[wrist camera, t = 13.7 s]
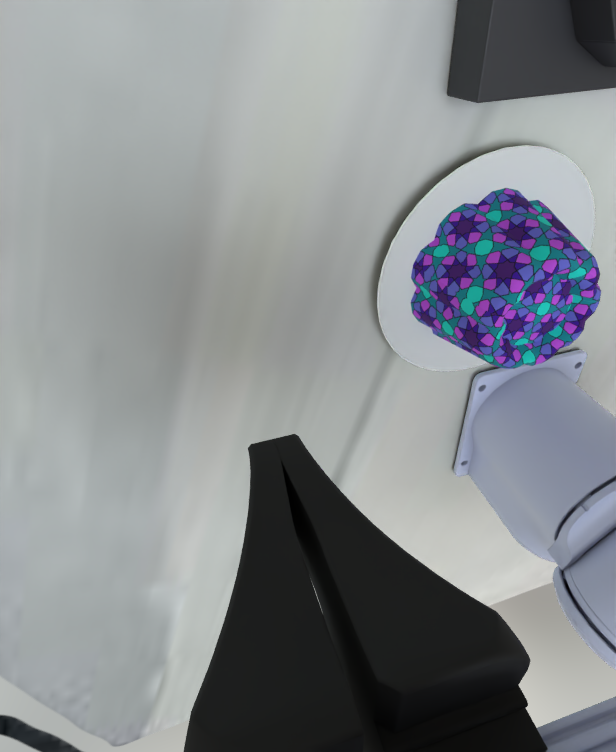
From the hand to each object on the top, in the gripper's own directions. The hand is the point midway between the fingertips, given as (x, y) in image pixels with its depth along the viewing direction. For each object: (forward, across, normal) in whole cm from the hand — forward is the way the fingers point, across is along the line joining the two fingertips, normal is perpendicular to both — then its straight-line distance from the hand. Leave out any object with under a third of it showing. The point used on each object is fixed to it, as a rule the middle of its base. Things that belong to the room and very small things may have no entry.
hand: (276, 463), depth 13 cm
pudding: (+11, -13, +1) cm, 17 cm away
